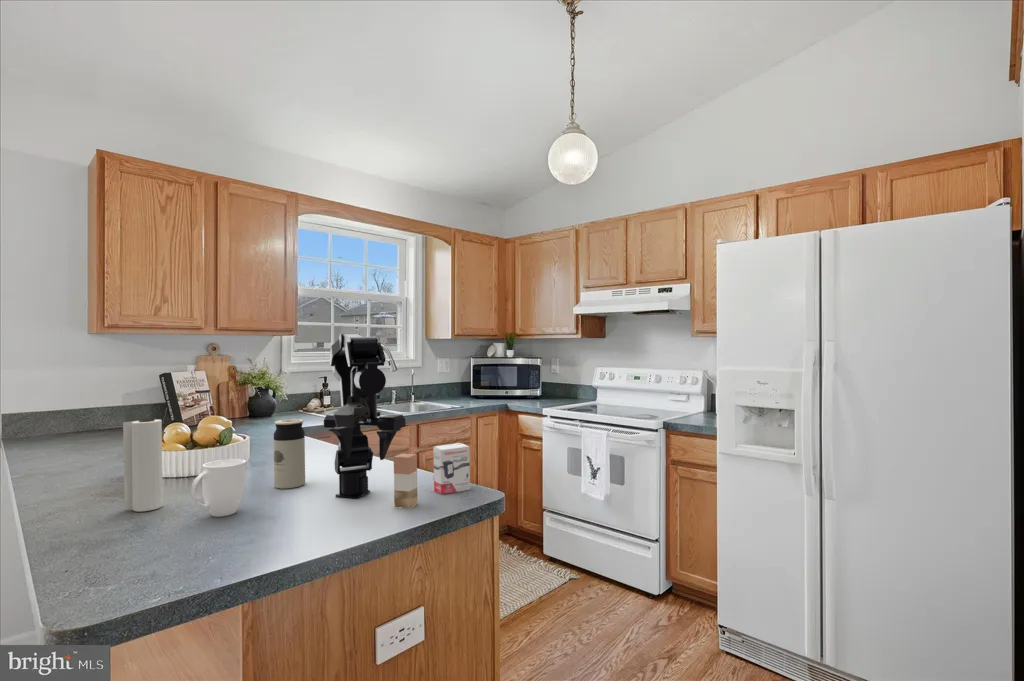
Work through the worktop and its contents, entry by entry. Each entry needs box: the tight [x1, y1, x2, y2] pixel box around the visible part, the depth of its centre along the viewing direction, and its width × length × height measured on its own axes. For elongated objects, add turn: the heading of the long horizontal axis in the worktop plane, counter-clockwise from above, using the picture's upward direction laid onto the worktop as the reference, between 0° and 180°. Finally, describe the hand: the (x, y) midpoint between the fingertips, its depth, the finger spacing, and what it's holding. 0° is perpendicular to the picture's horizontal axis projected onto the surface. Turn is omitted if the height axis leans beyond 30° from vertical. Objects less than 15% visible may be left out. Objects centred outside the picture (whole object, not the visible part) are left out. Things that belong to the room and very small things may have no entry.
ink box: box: [432, 442, 471, 496], centre depth 141 cm, size 8×5×12 cm, turn 123°
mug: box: [190, 458, 247, 518], centre depth 123 cm, size 12×9×12 cm
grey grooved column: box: [122, 418, 164, 513], centre depth 130 cm, size 7×6×21 cm
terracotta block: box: [393, 452, 418, 475], centre depth 129 cm, size 4×4×4 cm
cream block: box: [393, 470, 418, 491], centre depth 129 cm, size 4×4×4 cm
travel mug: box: [273, 418, 306, 490], centre depth 149 cm, size 8×8×18 cm
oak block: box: [393, 487, 419, 509], centre depth 129 cm, size 4×4×4 cm
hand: (364, 458), depth 123 cm, fingers open, 9 cm apart
